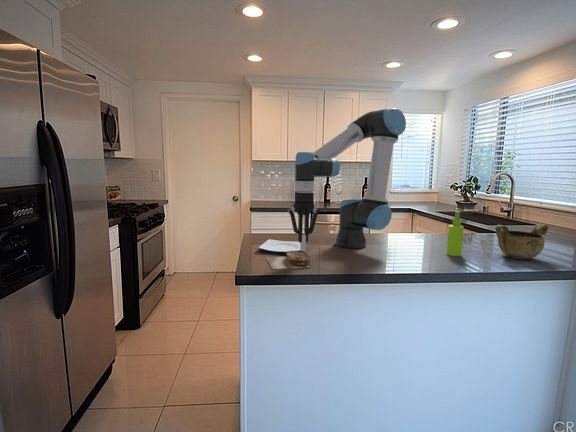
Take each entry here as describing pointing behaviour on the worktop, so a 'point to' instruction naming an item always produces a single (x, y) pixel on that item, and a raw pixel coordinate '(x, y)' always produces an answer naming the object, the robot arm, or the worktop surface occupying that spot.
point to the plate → (279, 246)
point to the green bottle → (455, 236)
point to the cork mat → (282, 263)
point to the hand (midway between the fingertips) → (302, 250)
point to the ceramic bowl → (521, 241)
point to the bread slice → (298, 258)
